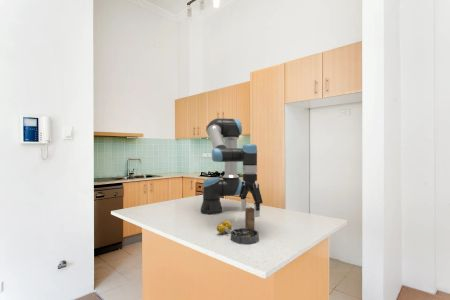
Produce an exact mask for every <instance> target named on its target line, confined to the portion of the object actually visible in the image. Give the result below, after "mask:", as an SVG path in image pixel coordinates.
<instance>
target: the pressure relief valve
mask: <svg viewBox="0 0 450 300" xmlns="http://www.w3.org/2000/svg"><path fill="white" fill-rule="evenodd" d="M232 224H233V223H231V222H230V221H229V220H225V221H222V223H221V224H218V225H217V226H216V231H217V232H218V233H219V234H221V235H222V234H223V235H224V232H226V233H227V234H230V235H231V231H233V230H232V227H233V225H232ZM233 232H235V231H233ZM235 234H236V236H237V233H236V232H235Z"/></svg>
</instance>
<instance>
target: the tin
mask: <svg viewBox="0 0 450 300" xmlns="http://www.w3.org/2000/svg"><path fill="white" fill-rule="evenodd" d="M233 231H235V232H236V233H237V236H236V234H235V232H233ZM259 234H260V233H259V231H258V230H256V229H254V230H253V229H248V228H245V227H244V228H242V227H241V228H235V229H232V230H231V234H230V240H231V241H232V243H236V244H240V245H252V244H256V243H258V242H259V240H260V239H259Z"/></svg>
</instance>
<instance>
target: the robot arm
mask: <svg viewBox="0 0 450 300" xmlns="http://www.w3.org/2000/svg"><path fill="white" fill-rule="evenodd" d="M242 132H243V126H242V123H241V121H240V120H239V119H238V118H215V119H212V120H211V121H210V122H209V123H208V124H207V126H206V134H207V136H208V137H209V138H210V141H211V144H212V149H211V160H212V161H213V162H215V163H222V162H223V163H224V175H223V176H222V179H221V178H220V177H218V176H217V177H215V176H213V177H208V178H205V179H204V180H203V181H202V203H201V207H200V213H201V214H205V215H218V214H222V213H223V207H222V203H221V197H230V196H231V197H235V196H238V198H240V200H241V201H240V202H241V205H240V206H241V209H240V210H241V211H240V212H245V208H247V196H248V194H249V193H251V197H252V199H253V200H254V201H253V202H254V203H253V208H254V218H260V216H261V215H260V213H261V211H260V210H261V204H263V198H262V194H261V190H260V184H259V183H256V182H257V180H258V174H257V173H258V146H257V144H256V143H255V144H253V143H251V144H250V143H247V144H246V143H244V144H243V145H242V147H240V148H239V147H238V140H239V139H240V137H241V136H242V134H243V133H242ZM239 162H242V173H243V174H242V178H240V176H239V175H238V163H239Z"/></svg>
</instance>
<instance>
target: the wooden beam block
mask: <svg viewBox="0 0 450 300" xmlns="http://www.w3.org/2000/svg"><path fill="white" fill-rule="evenodd" d="M244 212H245V215H244V218H245V222H244V223H245V227H244V228H248V229H253V230H255V217H254V207H252V206H250V207H249V206H248V207H246V208H245V211H244Z"/></svg>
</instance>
